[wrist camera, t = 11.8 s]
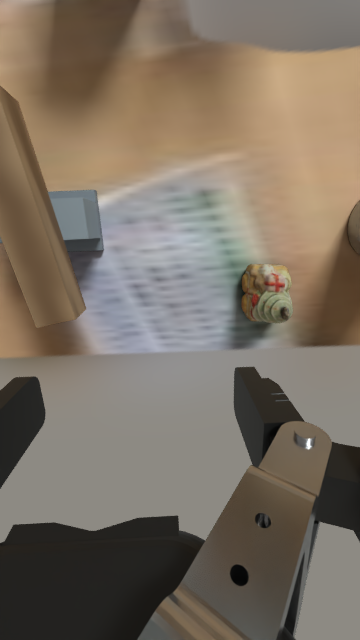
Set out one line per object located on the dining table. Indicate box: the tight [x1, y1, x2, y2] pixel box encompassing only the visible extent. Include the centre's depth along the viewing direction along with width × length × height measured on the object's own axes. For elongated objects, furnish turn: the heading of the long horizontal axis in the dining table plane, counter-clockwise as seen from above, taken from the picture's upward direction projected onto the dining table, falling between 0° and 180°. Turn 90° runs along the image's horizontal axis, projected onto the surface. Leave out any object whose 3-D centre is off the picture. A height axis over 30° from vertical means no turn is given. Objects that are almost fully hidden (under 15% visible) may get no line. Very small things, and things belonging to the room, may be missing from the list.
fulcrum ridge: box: [0, 190, 104, 252], centre depth 32 cm, size 10×7×7 cm
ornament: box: [242, 264, 293, 323], centre depth 34 cm, size 8×6×10 cm
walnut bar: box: [0, 86, 86, 328], centre depth 26 cm, size 4×20×4 cm, turn 12°
